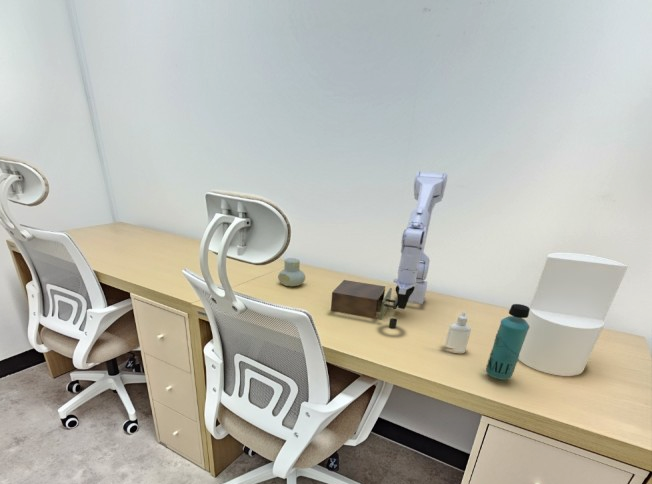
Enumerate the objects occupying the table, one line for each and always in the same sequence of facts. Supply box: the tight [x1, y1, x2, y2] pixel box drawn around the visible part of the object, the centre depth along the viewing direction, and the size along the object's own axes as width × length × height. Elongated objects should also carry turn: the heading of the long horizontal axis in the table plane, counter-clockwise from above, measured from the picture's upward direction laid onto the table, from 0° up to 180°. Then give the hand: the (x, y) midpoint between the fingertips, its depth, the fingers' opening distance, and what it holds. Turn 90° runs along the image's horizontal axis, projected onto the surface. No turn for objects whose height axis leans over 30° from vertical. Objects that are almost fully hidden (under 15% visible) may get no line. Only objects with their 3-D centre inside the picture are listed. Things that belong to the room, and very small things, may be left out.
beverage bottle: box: [485, 303, 530, 380], centre depth 96 cm, size 6×7×20 cm
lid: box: [388, 317, 398, 330], centre depth 122 cm, size 7×7×4 cm
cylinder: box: [518, 251, 629, 377], centre depth 104 cm, size 17×17×28 cm
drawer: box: [375, 287, 398, 321], centre depth 133 cm, size 18×14×7 cm
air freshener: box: [277, 257, 306, 288], centre depth 156 cm, size 11×8×10 cm
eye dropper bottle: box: [444, 311, 472, 354], centre depth 111 cm, size 4×6×12 cm
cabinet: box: [330, 279, 387, 319], centre depth 135 cm, size 15×14×8 cm
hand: (401, 307), depth 130 cm, fingers closed, pressing on drawer
